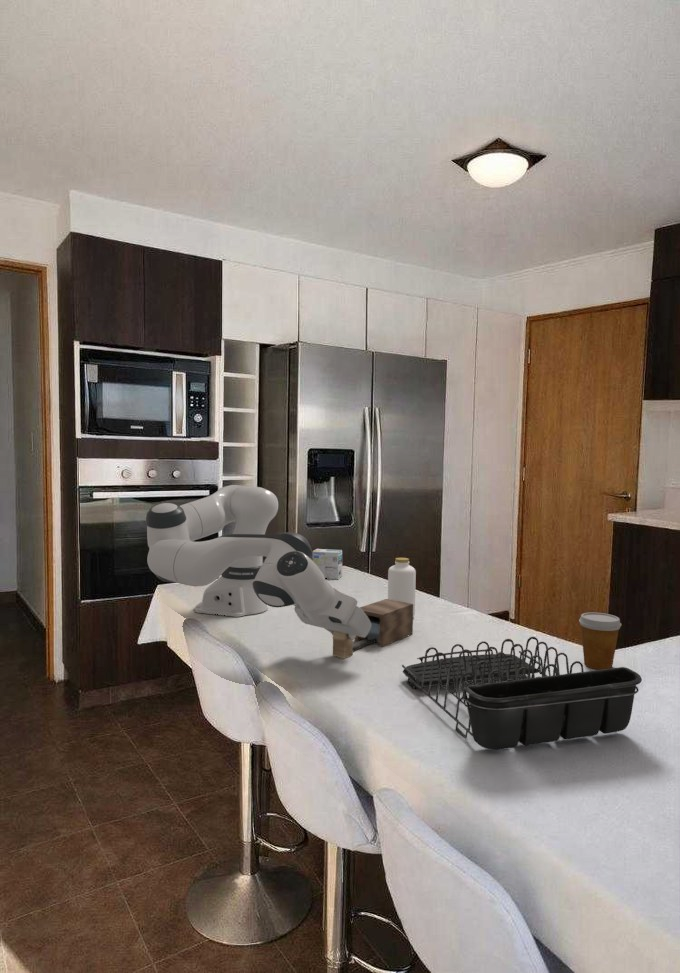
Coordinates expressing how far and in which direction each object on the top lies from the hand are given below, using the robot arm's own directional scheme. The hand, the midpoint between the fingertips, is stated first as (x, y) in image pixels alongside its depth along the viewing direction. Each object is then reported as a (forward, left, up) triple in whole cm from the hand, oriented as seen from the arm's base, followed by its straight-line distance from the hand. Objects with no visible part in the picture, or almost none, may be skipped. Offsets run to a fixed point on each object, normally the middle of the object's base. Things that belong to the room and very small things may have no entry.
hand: (344, 635), depth 167 cm
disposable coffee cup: (+61, +2, -5) cm, 62 cm away
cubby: (+8, +16, -5) cm, 19 cm away
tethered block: (+4, +7, -5) cm, 9 cm away
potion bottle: (+12, +38, -5) cm, 41 cm away
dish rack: (+36, -26, -5) cm, 45 cm away
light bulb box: (-19, +92, -5) cm, 94 cm away
